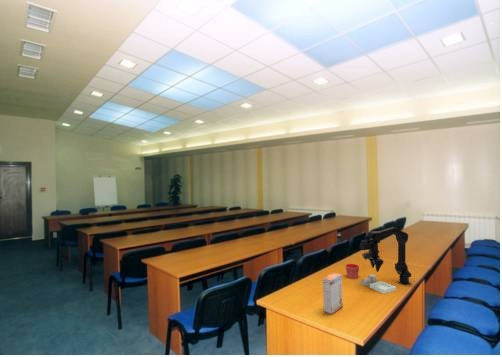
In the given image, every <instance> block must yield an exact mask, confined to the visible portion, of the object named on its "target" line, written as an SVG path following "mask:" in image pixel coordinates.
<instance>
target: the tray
mask: <svg viewBox="0 0 502 357" xmlns="http://www.w3.org/2000/svg"><path fill="white" fill-rule="evenodd" d="M369 288H370V289H372V290H375V291H377V292H379V293H382V294H387V293H391V292H395V291H397V287H396V286H394V285H392V284H390V283H387V282H384V281H377V282H376V283H372V284H370V286H369Z"/></svg>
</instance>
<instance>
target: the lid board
mask: <svg viewBox="0 0 502 357" xmlns="http://www.w3.org/2000/svg"><path fill="white" fill-rule="evenodd" d="M376 282H378V281H377V280H376ZM376 282H371V284H372V283H376ZM358 284H360V285H363V286H365V285H364V284H363V279H362V281H358Z"/></svg>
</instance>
